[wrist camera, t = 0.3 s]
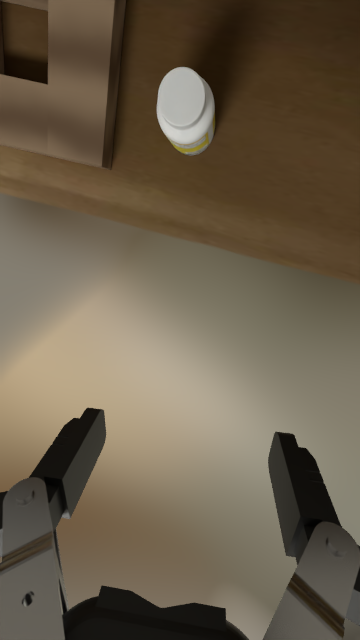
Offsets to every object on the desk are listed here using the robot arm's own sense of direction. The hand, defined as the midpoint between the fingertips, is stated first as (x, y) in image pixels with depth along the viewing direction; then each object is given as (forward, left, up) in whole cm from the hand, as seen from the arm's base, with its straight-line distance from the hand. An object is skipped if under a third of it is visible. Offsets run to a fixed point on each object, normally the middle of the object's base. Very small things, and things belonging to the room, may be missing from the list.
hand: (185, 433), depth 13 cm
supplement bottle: (-17, -6, -28) cm, 33 cm away
